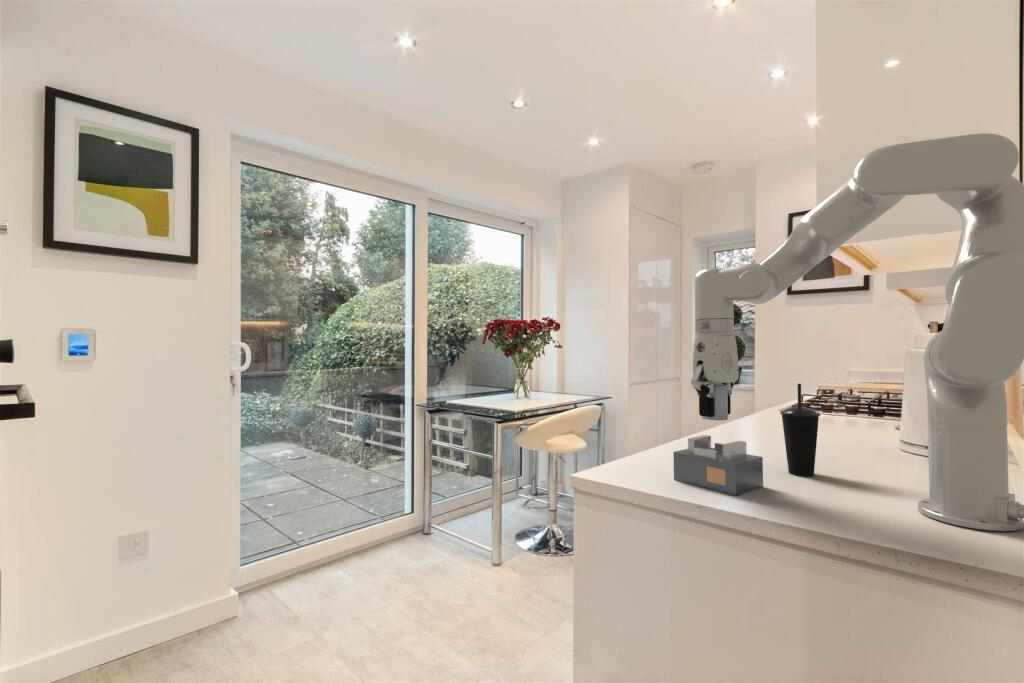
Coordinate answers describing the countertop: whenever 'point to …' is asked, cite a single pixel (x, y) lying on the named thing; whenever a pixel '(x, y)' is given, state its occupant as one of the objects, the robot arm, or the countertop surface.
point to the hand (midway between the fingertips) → (714, 414)
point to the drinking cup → (800, 438)
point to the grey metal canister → (719, 402)
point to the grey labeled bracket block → (718, 466)
